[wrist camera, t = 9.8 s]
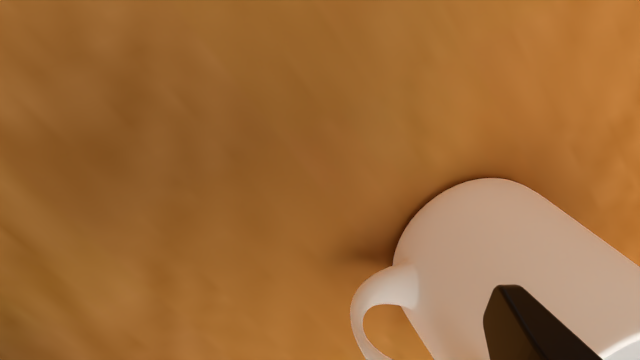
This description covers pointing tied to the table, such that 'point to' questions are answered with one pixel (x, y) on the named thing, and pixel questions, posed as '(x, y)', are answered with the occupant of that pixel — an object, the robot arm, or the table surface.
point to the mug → (502, 273)
